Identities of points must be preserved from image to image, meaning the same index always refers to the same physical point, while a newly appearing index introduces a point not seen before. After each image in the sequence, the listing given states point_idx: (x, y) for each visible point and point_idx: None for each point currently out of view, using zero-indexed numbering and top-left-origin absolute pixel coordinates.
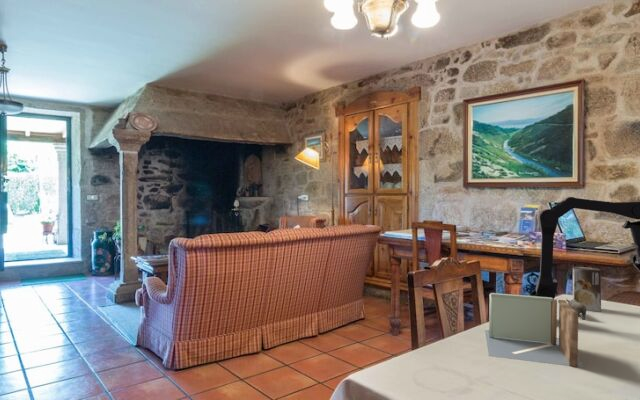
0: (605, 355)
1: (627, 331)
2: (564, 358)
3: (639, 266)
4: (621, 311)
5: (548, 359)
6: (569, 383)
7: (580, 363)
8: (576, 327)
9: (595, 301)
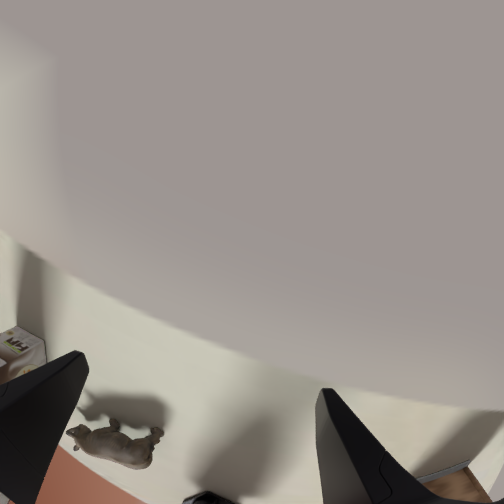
0: (430, 444)
1: (231, 368)
2: None
3: (26, 492)
4: (17, 274)
5: None
6: (492, 462)
7: (459, 466)
8: (491, 501)
9: (27, 365)
